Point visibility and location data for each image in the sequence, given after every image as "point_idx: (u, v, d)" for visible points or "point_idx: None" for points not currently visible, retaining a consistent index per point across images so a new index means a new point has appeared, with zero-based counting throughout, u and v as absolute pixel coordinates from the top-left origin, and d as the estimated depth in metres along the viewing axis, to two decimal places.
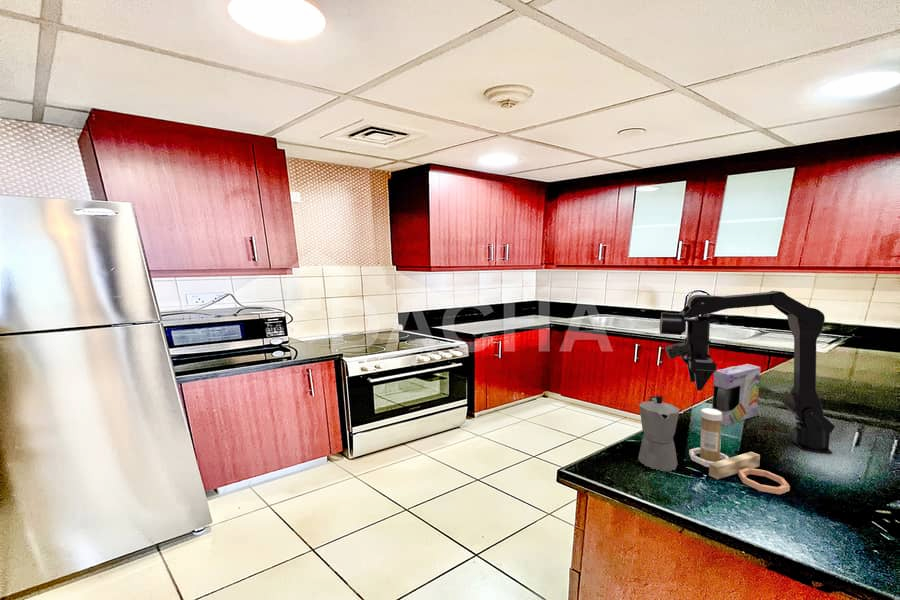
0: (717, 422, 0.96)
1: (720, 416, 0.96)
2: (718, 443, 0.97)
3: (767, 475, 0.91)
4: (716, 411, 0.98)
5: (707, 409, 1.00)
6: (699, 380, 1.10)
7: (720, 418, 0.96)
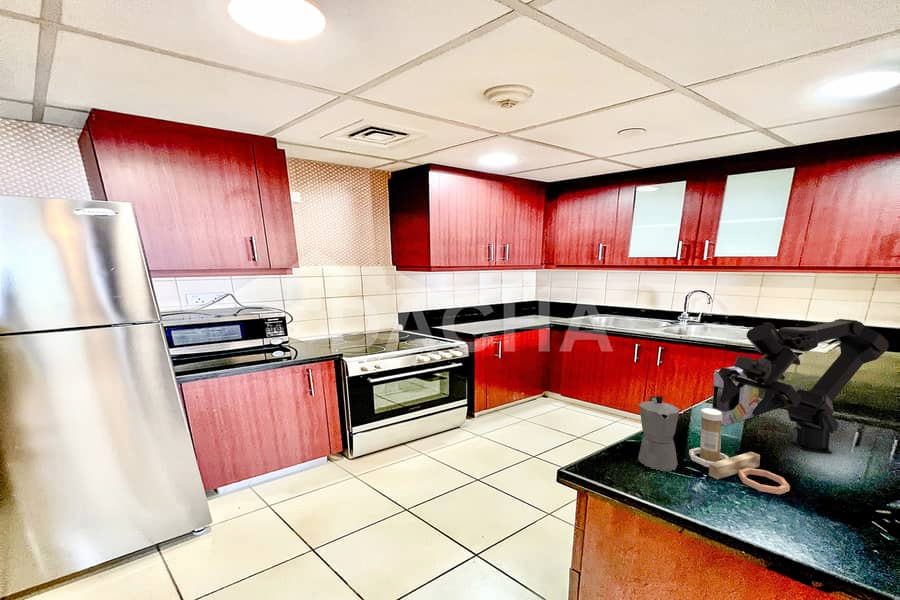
0: (717, 422, 0.96)
1: (720, 416, 0.96)
2: (718, 443, 0.97)
3: (767, 475, 0.91)
4: (716, 411, 0.98)
5: (707, 409, 1.00)
6: (765, 406, 0.94)
7: (720, 418, 0.96)
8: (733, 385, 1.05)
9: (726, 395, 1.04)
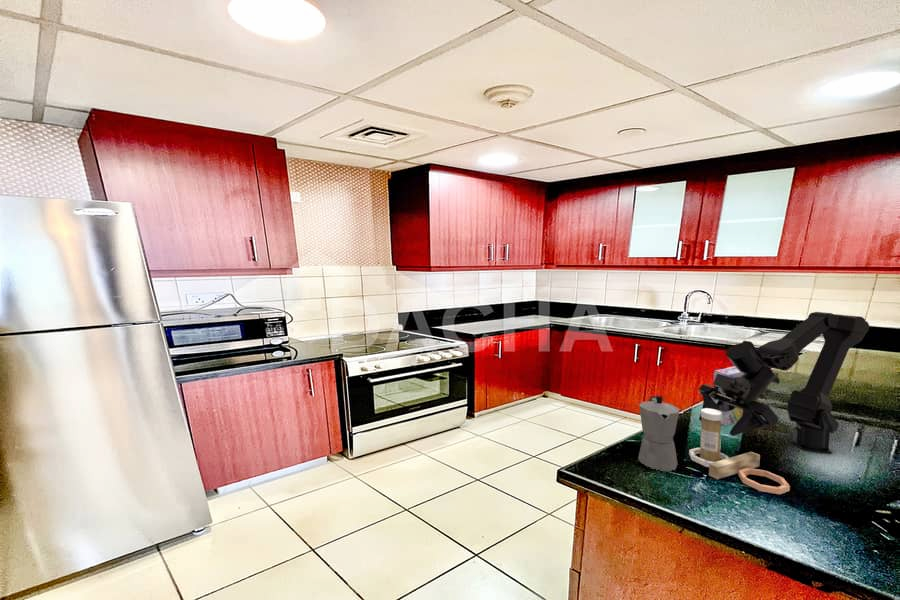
0: (717, 422, 0.96)
1: (720, 416, 0.96)
2: (718, 443, 0.97)
3: (767, 475, 0.91)
4: (716, 411, 0.98)
5: (707, 409, 1.00)
6: (742, 426, 0.94)
7: (720, 418, 0.96)
8: (713, 403, 1.04)
9: None
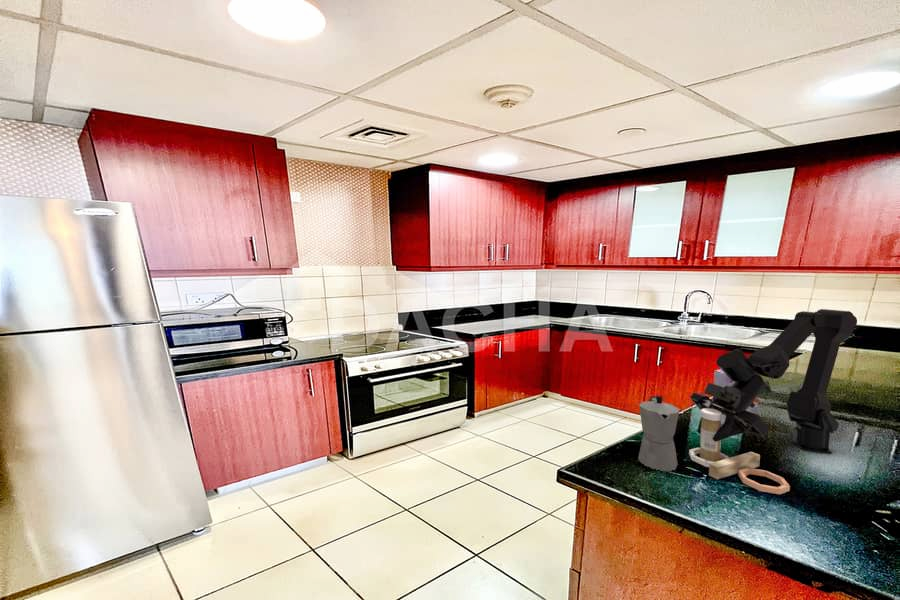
0: (717, 422, 0.96)
1: (720, 416, 0.96)
2: (718, 443, 0.97)
3: (767, 475, 0.91)
4: (716, 411, 0.98)
5: (707, 409, 1.00)
6: (725, 432, 0.95)
7: (720, 418, 0.96)
8: None
9: None
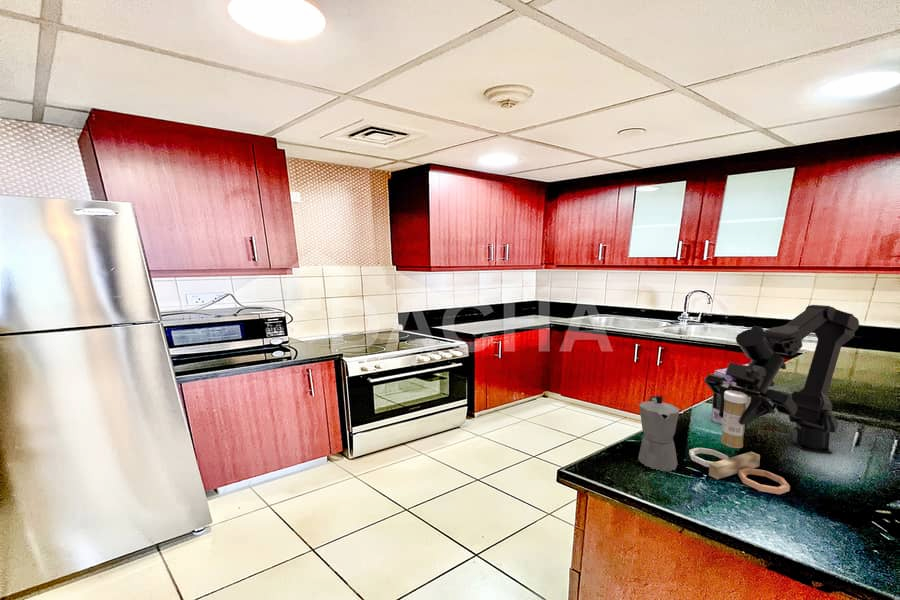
0: (744, 405, 0.91)
1: (746, 398, 0.91)
2: (743, 426, 0.92)
3: (767, 475, 0.91)
4: (740, 393, 0.92)
5: (730, 391, 0.94)
6: (752, 413, 0.90)
7: (746, 400, 0.91)
8: None
9: None
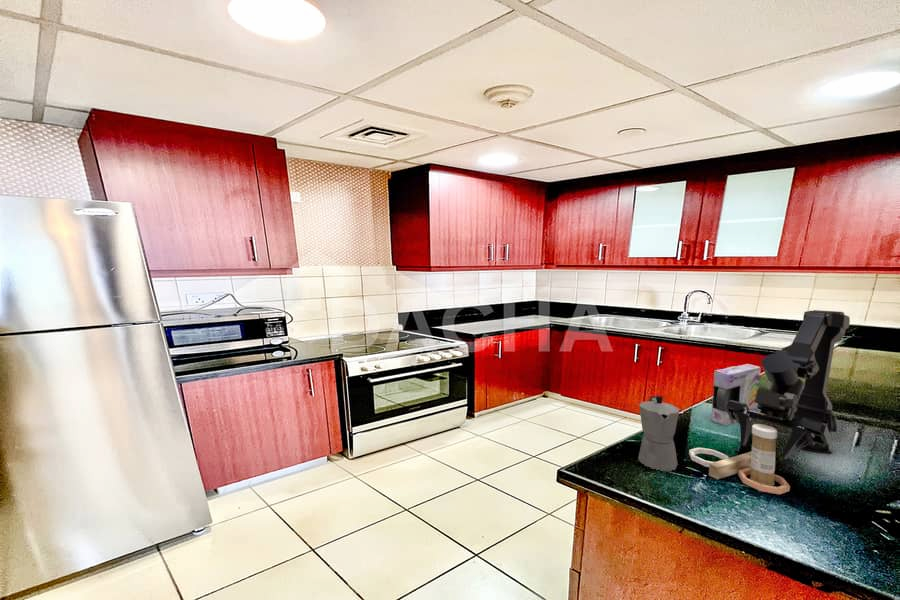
0: (775, 440, 0.86)
1: None
2: (774, 463, 0.87)
3: None
4: (769, 427, 0.88)
5: (758, 425, 0.89)
6: (794, 447, 0.84)
7: (776, 435, 0.86)
8: (749, 422, 0.93)
9: (746, 435, 0.91)
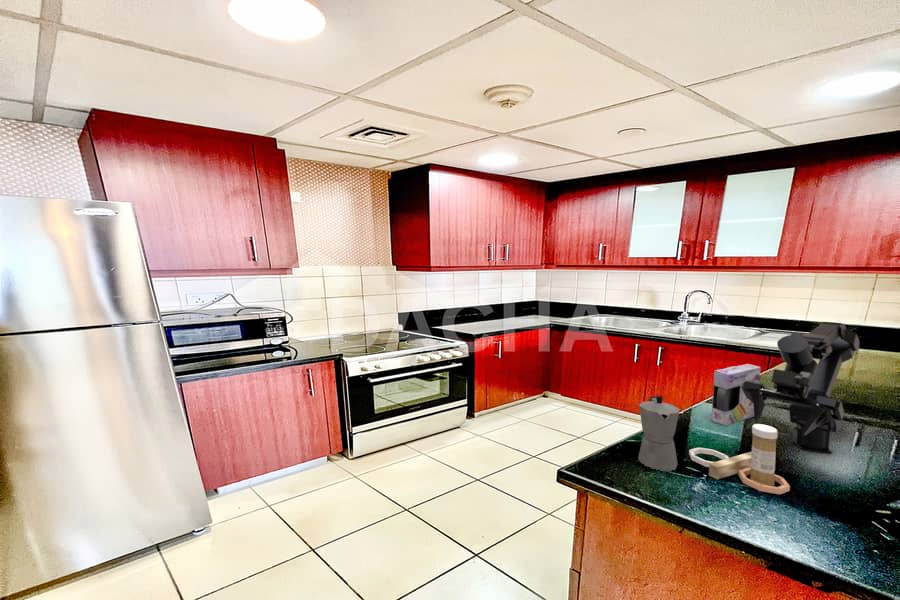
0: (775, 440, 0.86)
1: None
2: (774, 463, 0.87)
3: None
4: (769, 427, 0.88)
5: (758, 425, 0.89)
6: (813, 423, 0.88)
7: None
8: (761, 400, 0.98)
9: (759, 412, 0.97)
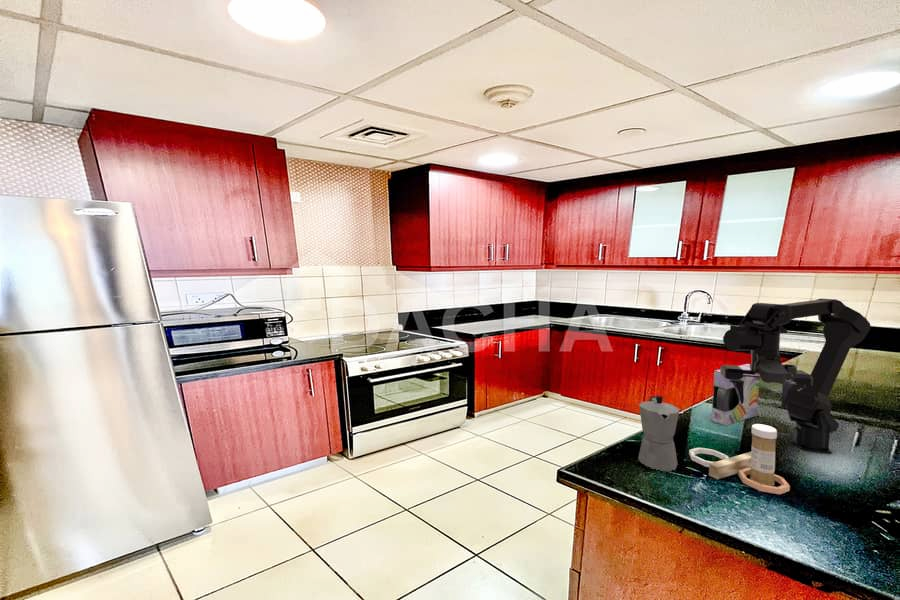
0: (775, 440, 0.86)
1: (776, 433, 0.86)
2: (774, 463, 0.87)
3: None
4: (769, 427, 0.88)
5: (758, 425, 0.89)
6: None
7: (776, 435, 0.86)
8: None
9: None
